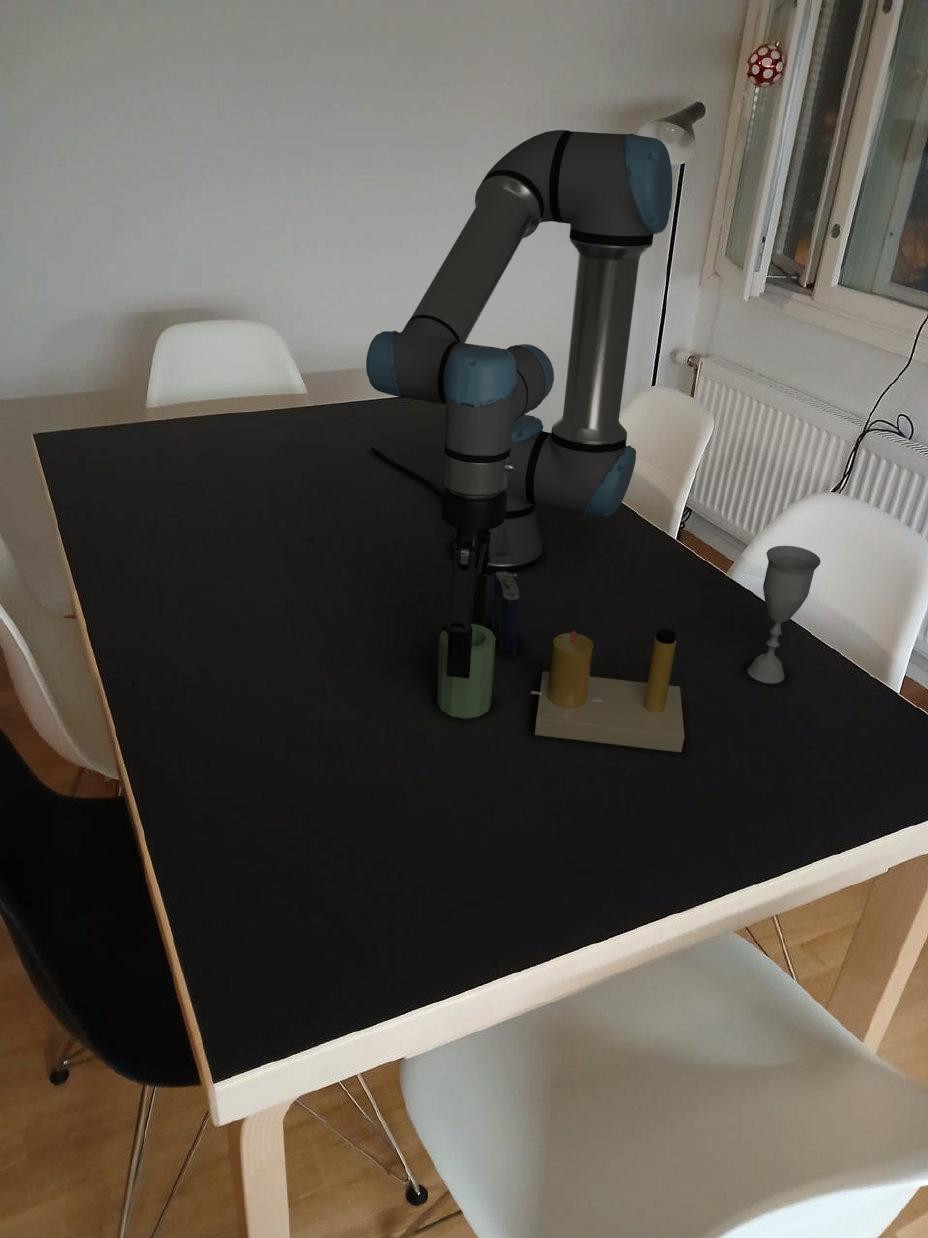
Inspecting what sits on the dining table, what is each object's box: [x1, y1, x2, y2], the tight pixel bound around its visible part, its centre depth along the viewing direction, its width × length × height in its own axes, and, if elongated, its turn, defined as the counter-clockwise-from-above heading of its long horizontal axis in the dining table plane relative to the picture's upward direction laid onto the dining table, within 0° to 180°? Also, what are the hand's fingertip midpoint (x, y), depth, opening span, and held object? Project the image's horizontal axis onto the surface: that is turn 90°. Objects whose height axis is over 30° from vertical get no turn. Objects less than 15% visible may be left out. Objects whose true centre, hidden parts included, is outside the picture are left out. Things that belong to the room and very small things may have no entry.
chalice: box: [746, 545, 822, 684], centre depth 130 cm, size 7×7×18 cm
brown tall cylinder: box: [644, 628, 677, 713], centre depth 119 cm, size 3×3×12 cm
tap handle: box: [548, 630, 594, 708], centre depth 121 cm, size 5×5×8 cm
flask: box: [491, 571, 521, 657], centre depth 137 cm, size 9×3×11 cm, turn 8°
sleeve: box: [436, 623, 497, 720], centre depth 123 cm, size 7×7×10 cm
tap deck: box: [530, 670, 685, 753], centre depth 123 cm, size 19×11×3 cm, turn 81°
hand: (466, 647), depth 121 cm, fingers open, 13 cm apart
